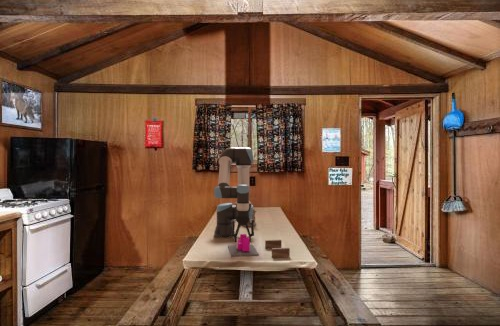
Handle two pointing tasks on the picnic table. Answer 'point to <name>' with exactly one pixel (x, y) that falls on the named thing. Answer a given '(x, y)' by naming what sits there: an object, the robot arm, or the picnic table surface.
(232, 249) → the slate mat
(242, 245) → the toy block
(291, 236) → the picnic table surface
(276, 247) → the block
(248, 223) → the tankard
